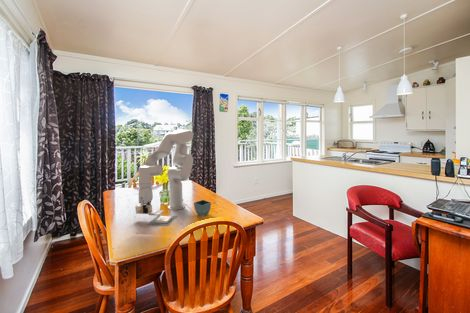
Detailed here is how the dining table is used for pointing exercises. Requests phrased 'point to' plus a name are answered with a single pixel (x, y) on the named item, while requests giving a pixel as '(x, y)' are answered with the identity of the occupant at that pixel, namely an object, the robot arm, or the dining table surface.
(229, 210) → the dining table surface
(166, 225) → the mat
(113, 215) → the dining table surface
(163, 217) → the tile
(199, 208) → the flower pot
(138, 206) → the turner
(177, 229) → the dining table surface
